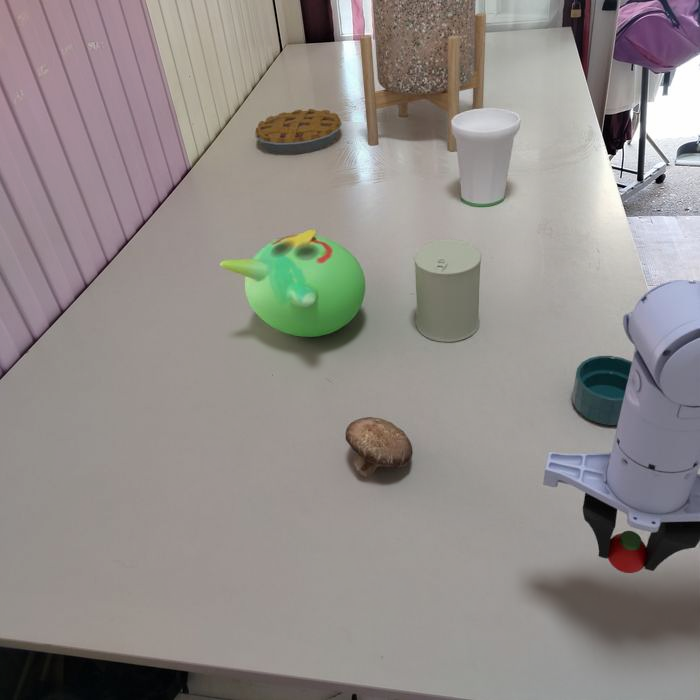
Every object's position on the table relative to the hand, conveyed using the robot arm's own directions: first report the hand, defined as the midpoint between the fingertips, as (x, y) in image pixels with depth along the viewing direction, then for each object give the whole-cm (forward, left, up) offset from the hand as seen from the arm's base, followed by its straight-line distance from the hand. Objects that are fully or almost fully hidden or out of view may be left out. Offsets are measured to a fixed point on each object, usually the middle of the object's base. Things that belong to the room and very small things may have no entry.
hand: (626, 553), depth 53 cm
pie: (+83, -103, -8) cm, 133 cm away
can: (+26, -38, -8) cm, 47 cm away
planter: (+53, -113, -8) cm, 125 cm away
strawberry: (0, 0, -1) cm, 1 cm away
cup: (+31, -80, -8) cm, 86 cm away
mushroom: (+26, -10, -8) cm, 29 cm away
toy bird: (+46, -32, -8) cm, 57 cm away
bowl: (+3, -27, -8) cm, 28 cm away
